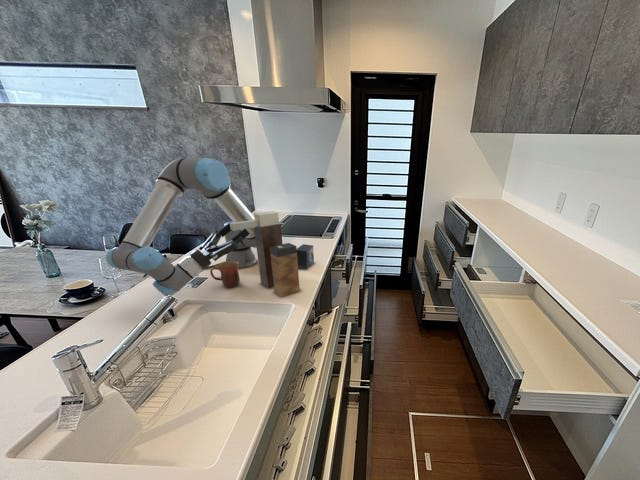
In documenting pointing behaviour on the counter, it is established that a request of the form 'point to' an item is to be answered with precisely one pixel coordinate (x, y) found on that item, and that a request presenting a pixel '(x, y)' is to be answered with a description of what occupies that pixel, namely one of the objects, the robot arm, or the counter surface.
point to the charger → (257, 221)
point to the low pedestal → (285, 274)
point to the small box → (305, 256)
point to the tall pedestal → (267, 250)
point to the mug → (228, 273)
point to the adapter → (283, 249)
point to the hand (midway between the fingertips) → (239, 227)
